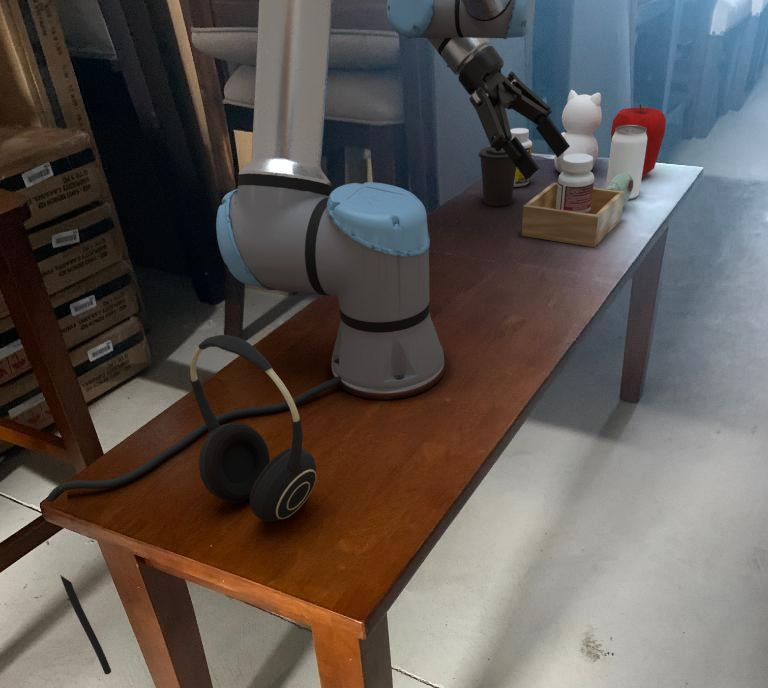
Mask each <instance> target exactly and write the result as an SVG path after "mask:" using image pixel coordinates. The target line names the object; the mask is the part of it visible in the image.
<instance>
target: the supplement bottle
mask: <svg viewBox="0 0 768 688" xmlns="http://www.w3.org/2000/svg"><path fill="white" fill-rule="evenodd" d="M510 130H511V134H512V139H513V138H514V137H517V139H518V140H519V141H520V143H521V144H522V145H523V147H524V148H525V149H526V151H527V152H528V153H529V155H530V156H531V157H532V154H533V141H532V140H531V139H530V131H529V129H528V128H525V127H514V128H510ZM512 139H511V140H512ZM530 181H531V177H530V178H529V179H527V180H526V179H525V177H524V176H523V175H522V173H521V172H520V171H519V169H518V168H517V167H516V173H515V180H514V186H513V188H522V187H524V186H527V185H528V184H529V183H530Z"/></svg>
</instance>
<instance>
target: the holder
mask: <svg viewBox="0 0 768 688" xmlns="http://www.w3.org/2000/svg"><path fill="white" fill-rule="evenodd" d="M557 188H558V182H552V183H550V184H549V185H548V186H547V187H546V188H544V189H542V191H540V192H539V193H538V194H537V195H535V196H534V197H533V198H532V199H530V200H529V201H528V202H526V203H525V204H524V205H523V206H522V222H521V236H522V237H527V238H534V239H540V240H545V241H546V240H547V241H553V242H558V243H564V244H570V245H578V246H582V247H588V248H589V247H590V248H596V247H597V245H598V244H600V243H601V241H603V239H604V238H606V237H607V236H608V234H609V233H610V232H611V231H612V230H614V229H615V227H617V225H618V224H620V222H621V221H622V216H623V215H622V214H623V208H624V205H623V201H624V194H625V191H618V190H610V189H606V188H602V187H601V188H600V187H594V186H593V196H592V205H591V214H588V213H581V212H574V211H567V210H560V209H556V201H557Z"/></svg>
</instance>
